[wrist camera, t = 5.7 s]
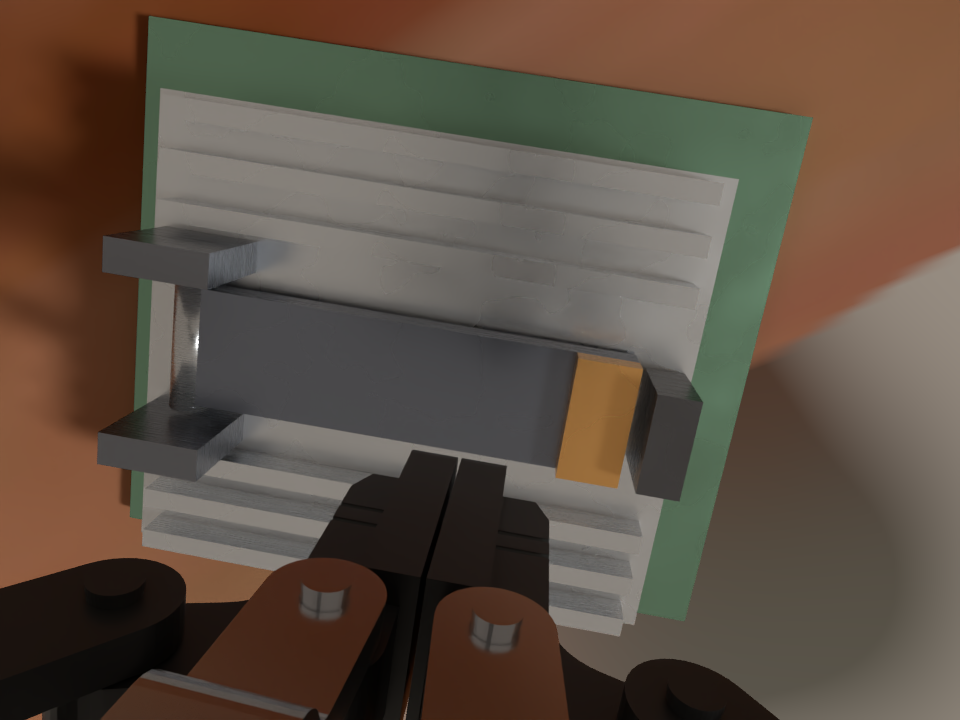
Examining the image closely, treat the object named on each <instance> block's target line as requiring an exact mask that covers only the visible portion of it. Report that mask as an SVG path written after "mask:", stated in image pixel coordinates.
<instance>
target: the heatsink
mask: <svg viewBox="0 0 960 720" xmlns="http://www.w3.org/2000/svg"><path fill="white" fill-rule="evenodd" d="M812 119H813V118H811V117H805V116H798V115H792V114H785V113H779V112H772V111H766V110H759V109H753V108H746V107H740V106H733V105H727V104H720V103H714V102H707V101H700V100H694V99H687V98H681V97H674V96H668V95H661V94H655V93H648V92H642V91H635V90H629V89H622V88H616V87H609V86H603V85H596V84H590V83H583V82H577V81H570V80H564V79H557V78H550V77H544V76H537V75H531V74H524V73H518V72H511V71H505V70H498V69H492V68H485V67H479V66H472V65H466V64H459V63H453V62H446V61H440V60H433V59H427V58H420V57H414V56H407V55H400V54H394V53H387V52H381V51H374V50H368V49H361V48H355V47H348V46H342V45H335V44H329V43H322V42H316V41H309V40H303V39H296V38H290V37H283V36H277V35H270V34H263V33H257V32H250V31H244V30H237V29H231V28H224V27H218V26H211V25H205V24H198V23H192V22H185V21H179V20H172V19H166V18H159V17H153V16H149V26H148V52H147V79H146V105H145V131H144V158H143V184H142V210H141V230H137V231H131V232H124V233H117V234H111V235H104V236H103V258H102V272H106V273H112V274H118V275H123V276H129V277H135V278H139V289H138V316H137V342H136V368H135V395H134V412H132V413H130V414H129V415H127V416H125V417H123V418H122V419H120V420H118V421H117V422H115V423H113V424H111V425H110V426H108V427H106V428H105V429H103V430H101V431H99V432H98V456H97V464H101V465H106V466H112V467H117V468H122V469H128V470H132V474H131V500H130V517H132V518H137V519H142V532H143V539H142V546H146V547H151V548H156V549H161V550H167V551H172V552H177V553H182V554H188V555H193V556H198V557H203V558H209V559H214V560H219V561H225V562H230V563H235V564H240V565H246V566H251V567H256V568H261V569H267V570H272V571H275V570H277V569H278V568H280V567H282V566H284V565H286V564H289V563H292V562H295V561H299V560H303V559H308V557H309V555H310V554H311V552H312V550H313V549H314V547H315V545H316V544H317V542H318V540H319V539H320V537H321V535H322V534H323V532H324V530H325V529H326V527H327V525H328V524H329V522H330V520H332V519H333V515H334V514H335V512H336V510H337V509H338V507H339V505H340V506H341V502H342V500H343V499H344V497H345V495H346V494H347V492H348V490H349V489H350V487H351V485H353V484H355V483H357V482H359V481H360V480H362V479H364V478H366V477H368V476H370V475H371V474H379V475H384V476H390V477H396V478H399V477H400V475H401V472H402V470H403V468H404V466H405V464H406V462H407V460H408V457H409V455H410V453H411V451H412V450H419V451H425V452H430V453H436V454H442V455H448V456H453V457H458V466H457V472H458V469H459V465H460V462H461V459H462V458H465V459H471V460H477V461H482V462H488V463H494V464H500V465H505V466H507V470H506V477H505V485H504V492H503V497H509V498H515V499H520V500H526V501H532V502H536V503H537V504H538V506H539V507H540V509H541V510H542V511H543V513H544V514H545V515H546V517H547V518H548V519H549V615H550V616H551V617H552V619H553V621H554V622H555V624H557V625H562V626H568V627H572V628H578V629H583V630H588V631H594V632H599V633H604V634H610V635H615V636H620V633H621V629H622V625H623V623H626V624H632V625H634V623H635V619H636V615H637V613H643V614H648V615H653V616H659V617H664V618H669V619H675V620H680V621H685V618H686V614H687V609H688V606H689V602H690V598H691V594H692V590H693V586H694V582H695V579H696V575H697V571H698V567H699V563H700V559H701V555H702V551H703V547H704V543H705V539H706V535H707V531H708V528H709V523H710V519H711V516H712V512H713V508H714V504H715V500H716V496H717V492H718V488H719V484H720V480H721V477H722V473H723V469H724V465H725V460H726V457H727V453H728V449H729V445H730V441H731V437H732V433H733V429H734V426H735V422H736V418H737V413H738V410H739V406H740V402H741V398H742V394H743V390H744V386H745V382H746V378H747V375H748V371H749V367H750V363H751V359H752V355H753V351H754V347H755V343H756V339H757V335H758V331H759V327H760V324H761V320H762V316H763V312H764V308H765V304H766V300H767V296H768V292H769V288H770V284H771V280H772V276H773V272H774V269H775V265H776V261H777V257H778V253H779V249H780V245H781V241H782V237H783V233H784V229H785V225H786V221H787V218H788V214H789V210H790V206H791V202H792V198H793V194H794V190H795V186H796V182H797V178H798V174H799V170H800V167H801V163H802V159H803V155H804V151H805V147H806V143H807V139H808V135H809V131H810V127H811V123H812ZM175 284H176V285H182V286H188V287H193V288H199V289H205V290H209V289H211V288H214V287H217V286H220V285H224V286H230V287H236V288H242V289H248V290H254V291H260V292H266V293H272V294H277V295H283V296H289V297H295V298H301V299H307V300H313V301H319V302H325V303H331V304H337V305H343V306H349V307H355V308H361V309H367V310H373V311H379V312H385V313H390V314H396V315H402V316H408V317H414V318H420V319H426V320H432V321H438V322H444V323H450V324H456V325H462V326H468V327H474V328H480V329H486V330H492V331H498V332H504V333H509V334H515V335H521V336H527V337H533V338H539V339H545V340H551V341H557V342H563V343H569V344H575V345H581V346H587V347H593V348H599V349H605V350H611V351H617V352H623V353H628V354H634V355H636V356H637V358H638V360H639V362H640V364H641V366H642V368H643V373H642V378H641V382H640V387H639V391H638V396H637V401H636V405H635V410H634V414H633V419H632V424H631V428H630V433H629V437H628V442H627V447H626V451H625V456H624V460H623V465H622V470H621V474H620V479H619V483H618V488H611V487H605V486H599V485H594V484H588V483H582V482H577V481H571V480H565V479H559V478H555V468H551V467H545V466H539V465H534V464H528V463H522V462H517V461H511V460H505V459H499V458H494V457H488V456H482V455H476V454H471V453H465V452H459V451H454V450H448V449H442V448H436V447H431V446H425V445H419V444H413V443H408V442H402V441H396V440H391V439H385V438H379V437H373V436H368V435H362V434H356V433H350V432H345V431H339V430H333V429H327V428H322V427H316V426H310V425H305V424H299V423H293V422H287V421H282V420H276V419H270V418H264V417H259V416H253V415H247V414H242V413H236V412H230V411H224V410H219V409H213V408H209V409H208V410H206V411H203V412H197V413H185V412H179V411H175V410H173V409H171V408H170V407H169V391H170V371H171V351H172V331H173V311H174V292H175ZM456 476H457V473H456Z"/></svg>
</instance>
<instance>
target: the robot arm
mask: <svg viewBox="0 0 960 720" xmlns="http://www.w3.org/2000/svg"><path fill="white" fill-rule="evenodd" d="M457 466H458V457H453V456H448V455H442V454H436V453H430V452H425V451H419V450H412V451H411V453H410V455H409V457H408V460H407V462H406V464H405V466H404V468H403V470H402V472H401V475H400V477H399V478H396V477H390V476H384V475H379V474H371V475H370V476H368V477H366V478H364V479H362V480H360V481H359V482H357V483H355V484H353V485H351V487H350V489H349V490H348V492H347V494H346V495H345V497H344V499H343V500H342V502H341V506H340V505H339V507H338V509H337V510H336V512H335V514H334V515H333V519H332V520H330V522H329V524H328V525H327V527H326V529H325V530H324V532H323V534H322V535H321V537H320V539H319V540H318V542H317V544H316V545H315V547H314V549H313V550H312V552H311V554H310V555H309V557H308V559H303V560H299V561H295V562H292V563H289V564H286V565H284V566H282V567H280V568H278V569H277V570H275V571H274V572H273V573H272V574H271V575H270V576H269V577H267V579H266V580H265V581H264V582H263V584H262V585H261V586H260V587H259V588H258V590H257V591H256V592H255V593H254V594H253V596H252V597H251V598H250V599H249V600H246V601H239V602H224V603H186V584H185V582H184V579H183V578H182V576H181V575H180V574H179V573H178V572H177V571H175V570H174V569H173V568H171V567H169V566H167V565H165V564H162V563H159V562H156V561H151V560H146V559H137V558H119V559H109V560H102V561H97V562H93V563H89V564H85V565H82V566H78V567H75V568H71V569H68V570H64V571H61V572H57V573H54V574H50V575H47V576H43V577H40V578H36V579H33V580H29V581H26V582H22V583H18V584H15V585H11V586H8V587H4V588H1V589H0V720H26V719H28V718H31V717H33V716H36V715H38V714H41V713H42V720H403V717H404V714H405V710H406V706H407V702H408V707H407V714H406V720H779V719H778V718H777V717H775V716H774V715H773V714H772V713H770V712H769V711H768V710H767V709H766V708H764V707H763V706H762V705H761V704H759V703H758V702H757V701H756V700H754V699H753V698H752V697H751V696H749V695H748V694H747V693H746V692H745V691H743V690H742V689H741V688H739V687H738V686H737V685H736V684H734V683H733V682H731V681H730V680H729V679H727V678H725V677H724V676H722V675H720V674H719V673H717V672H715V671H712V670H710V669H708V668H705V667H703V666H700V665H698V664H694V663H691V662H687V661H682V660H676V659H656V660H650V661H646V662H643V663H641V664H639V665H637V666H636V667H635V668H633V669H632V670H631V672H630V673H629V674H628V676H627V679H626V681H625V682H623V681H620V680H618V679H615V678H613V677H611V676H608V675H606V674H603V673H601V672H599V671H597V670H595V669H593V668H590V667H589V666H587V665H585V664H584V663H582V662H580V661H578V660H577V659H576V658H575V657H573V656H572V655H571V654H569V653H568V652H567V651H566V650H565V649H564V648H563V647H562V646H561V645H560V643H559V640H558V633H557V628H556V624H555V622H554V621H553V619H552V617H551V616H550V615H549V519H548V518H547V517H546V515H545V514H544V513H543V511H542V510H541V509H540V507H539V506H538V504H537V503H536V502H532V501H526V500H520V499H515V498H509V497H503V492H504V485H505V477H506V470H507V466H505V465H500V464H494V463H488V462H482V461H477V460H471V459H465V458H462V459H461V462H460V465H459V469H458V472H457ZM456 473H457V476H456ZM408 699H409V701H408Z"/></svg>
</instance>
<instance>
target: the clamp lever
mask: <svg viewBox="0 0 960 720" xmlns="http://www.w3.org/2000/svg"><path fill="white" fill-rule="evenodd" d="M642 373H643V368H642V366H641V364H640V362H639V360H638V358H637V356H636V355H634V354H628V353H623V352H617V351H611V350H605V349H599V348H593V347H587V346H581V345H575V344H569V343H563V342H557V341H551V340H545V339H539V338H533V337H527V336H521V335H515V334H509V333H504V332H498V331H492V330H486V329H480V328H474V327H468V326H462V325H456V324H450V323H444V322H438V321H432V320H426V319H420V318H414V317H408V316H402V315H396V314H390V313H385V312H379V311H373V310H367V309H361V308H355V307H349V306H343V305H337V304H331V303H325V302H319V301H313V300H307V299H301V298H295V297H289V296H283V295H277V294H272V293H266V292H260V291H254V290H248V289H242V288H236V287H230V286H224V285H220V286H217V287H214V288H211V289H209V290H205V289H199V288H193V287H188V286H182V285H176V284H175V292H174V311H173V331H172V351H171V371H170V391H169V407H170V408H171V409H173V410H175V411H179V412H185V413H197V412H203V411H206V410H208V409H209V408H213V409H219V410H224V411H230V412H236V413H242V414H247V415H253V416H259V417H264V418H270V419H276V420H282V421H287V422H293V423H299V424H305V425H310V426H316V427H322V428H327V429H333V430H339V431H345V432H350V433H356V434H362V435H368V436H373V437H379V438H385V439H391V440H396V441H402V442H408V443H413V444H419V445H425V446H431V447H436V448H442V449H448V450H454V451H459V452H465V453H471V454H476V455H482V456H488V457H494V458H499V459H505V460H511V461H517V462H522V463H528V464H534V465H539V466H545V467H551V468H555V478H559V479H565V480H571V481H577V482H582V483H588V484H594V485H599V486H605V487H611V488H618V483H619V479H620V474H621V470H622V465H623V460H624V456H625V451H626V447H627V442H628V437H629V433H630V428H631V424H632V419H633V414H634V410H635V405H636V401H637V396H638V391H639V387H640V382H641V378H642Z"/></svg>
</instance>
